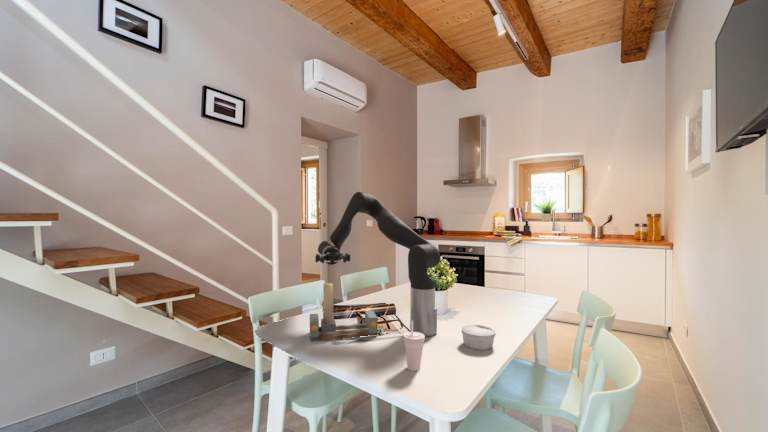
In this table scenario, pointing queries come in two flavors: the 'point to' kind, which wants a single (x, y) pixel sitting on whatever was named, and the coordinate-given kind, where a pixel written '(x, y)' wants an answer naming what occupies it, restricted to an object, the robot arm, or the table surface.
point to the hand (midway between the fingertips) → (334, 260)
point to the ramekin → (478, 337)
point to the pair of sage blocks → (369, 321)
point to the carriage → (328, 309)
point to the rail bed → (344, 332)
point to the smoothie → (413, 348)
